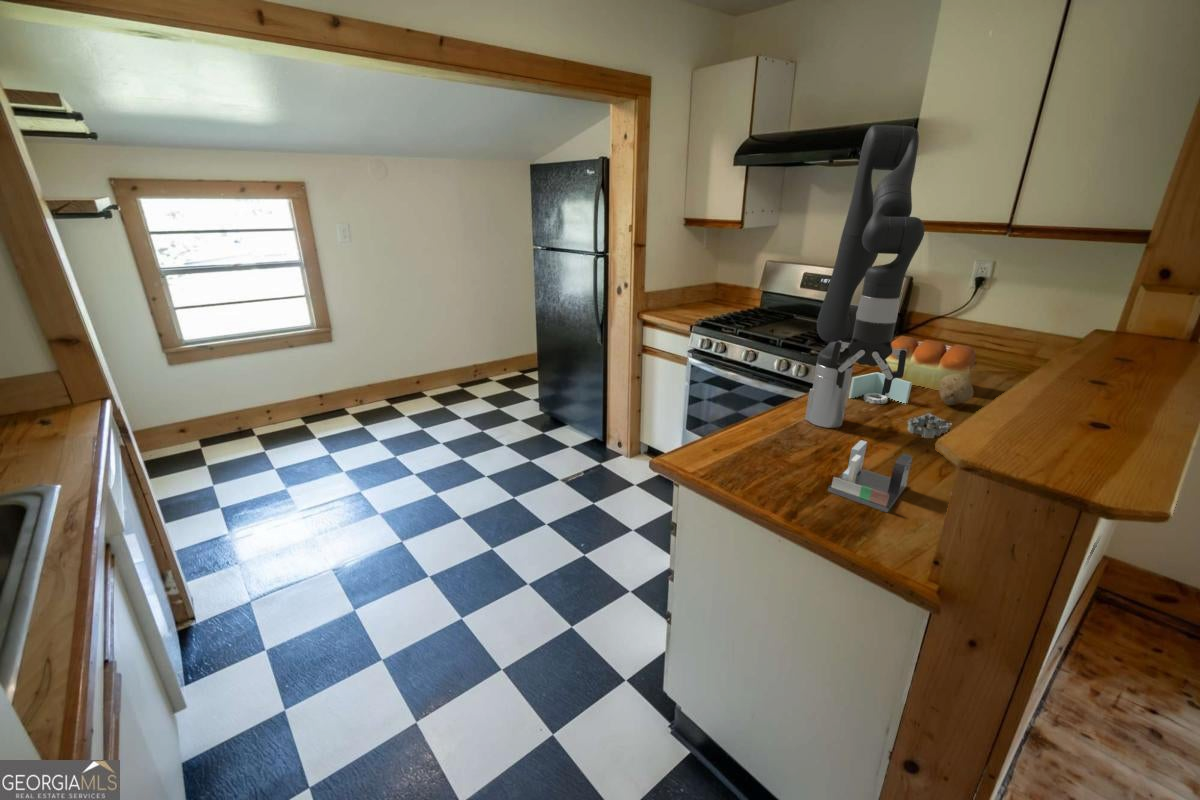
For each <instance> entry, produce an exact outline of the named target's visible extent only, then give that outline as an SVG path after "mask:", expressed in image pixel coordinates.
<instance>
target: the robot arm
mask: <svg viewBox="0 0 1200 800" xmlns="http://www.w3.org/2000/svg"><path fill="white" fill-rule="evenodd" d="M919 140H920V135H919V132H918V129H917V128H916V127H914V126H908V125H894V124H892V125H890V124H889V125H888V124H874V125H871V126H870V127H869V128H868V130H867V132H866V133H865V136H864V139H863V143H862V147H861V151H860V157H859V161H858V167H857V171H856V176H855V181H854V187H853V193H852V196H851V201H850V204H849V207H848V211H847V216H846V219H845V222H844V225H843V230H842V233H841V237H840V241H839V246H838V249H837V253H836V259H835V263H834V266H833V270H832V273H831V278H830V280H829V284H828V288H827V290H826V293H825V296H824V298H823V302H822V304H821V308H820V311H819V313H818V316H817V319H816V331H817V334H818V336H819V337H820V339H821V340H822V341H824V342H827V343H828V344H827V346H825V347H824V348H823V349H822V350H821V351H819V353H818V354H817V358H816V359H817V360H816V365H815V372H814V378H813V383H812V387H811V388H810V389H809V391H808V397H807V398H808V399H807V404H806V409H805V410H806V411H805V416H804V417H805V419H804V421H807V422H809V423H811V424H813V426H814V425H815V426H818V427H821V428H827V429H828V428H829V429H830V428H832V429H833V428H834V429H835V428H840V427H841V426H842V425H843V421H844V418H845V417H844V416H845V412H846V406H847V401H848V397H849V392H850V387H851V381H852V374H853V369H854V364H855V363H856V364H858V365H859V366H862V365H864V366H865V365H866V366H870V367H876V366H878V367H879V369H880V370H881V372H882V371H883V373H884V375H885V376H886V377H885V380H884V385H883V390H882V395H884V396H885V394H886V393H889V392H890V388H891V383H892V380H893V379H895V378H902V377H903V374H904V368H905V361H906V354H907V349H906V348H902V349H893V348H892V346H891V343H892V342H893V337H894V332H895V329H896V323H897V319H898V316H899V315H898V313H899V310H900V309H899V308H900V297H901V295H902V289H903V285H904V280H905V276H906V273H907V271H908V269H909V267H910V265H911V262H912V260H913V258H914V256H915V254H916V253H917V251H918V250H919V247H920V246H921V243H922V241H923V239H924V236H925V231H926V229H925V228H926V227H925V224H924V222H923V221H922V219H921V218H920V217H917V216H911V214H912V211H913V210H912V209H913V204H912V203H913V202H912V199H913V198H912V184H913V178H914V173H915V168H916V164H917V163H916V161H917V156H918V150H919V142H920V141H919ZM873 170H877V171H878V170H879V171H891V172H890V173H888V174H887V175H885V176H884V177H883V178H882V179H881V181H880V182H879V183H878V184H877V185H876V188H875V190H873V186H872V183H873V182H872V177H873ZM879 254H883V255H885V254H886V255H887V254H889V255H897V256H896V257H895V258H894V260H893V261H891V262H890V263H886V264H878V265H874V264H875V262H876V260H877V258H878V256H879ZM873 265H874V266H873ZM863 279H864V280H863ZM861 282H863V286H862V291H861V296H860V300H859V302H858V306H857V305H854V304H852V301H853V298H854V295H855V292H856V290H857V288H858V287H859V285H860V284H861ZM891 354H894V355H895V358H896V359H898V360H899V362H898V369H897V371H892V370H891V368H890V367H889V364H888V362H887V361H886V358H888V357H889V356H890V355H891Z"/></svg>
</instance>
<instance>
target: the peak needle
mask: <svg viewBox="0 0 1200 800" xmlns="http://www.w3.org/2000/svg"><path fill="white" fill-rule="evenodd" d="M860 460H861V456H860V455H857V454H856V455H855V456H854V457H853V458H852V459H851V461H850V470H849V475H848V480H847V481H849V482H852V483H855V480H856V476H857V471H858V466H859V461H860Z"/></svg>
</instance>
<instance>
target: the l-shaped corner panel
mask: <svg viewBox="0 0 1200 800" xmlns="http://www.w3.org/2000/svg"><path fill="white" fill-rule="evenodd" d="M885 377H886V376H885V375H884V374H882V372H877V371H876V372H871V373H867V374H862V375H857V376H851V380H850V386H849V391H848V396H847V399H848V398H849V399H850V398H852V399H855V397H856V398H859V396H860V397H863V400H864V401H865V402H866V403H869V404H877V405H878V404H879V405H884V404H886V403H888V402H889V401H888V400H891V399H893V400H892V401H894V400H895V401H894V402H897V401H899V402H898V403H900V402H902V403H901V404H903V403H905V404H904V405H907V404H908V402H909V399H910V394H911V389H912V387H913V386H912V383H911V382H908V381H905V380H901V379H898V378H895V379H893V380H892V383H891V388H890V392H889V393H886V394H885V396H884V395H882V390H883V385H884V380H885ZM862 395H864V396H862ZM888 398H890V399H888ZM906 403H907V404H906Z"/></svg>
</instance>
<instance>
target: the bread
mask: <svg viewBox="0 0 1200 800" xmlns="http://www.w3.org/2000/svg"><path fill="white" fill-rule="evenodd" d="M918 342H919V341H917V340H916V339H915V338H914V337H913V336H905V335H900V336H899V337H897V338H896V339H894V340H892V343H891V346H892V348H893V349H902V348H906V349H907V354H906V361H905V368H904V374H903V377H902V378H898V379H901V380H905V381H908V382H911V383H912V385H916V386H921V387H925V388H924V389H926V388H930V389H934V390H933V391H935V390H939V383H940V381H941V379H943V378H944V377H946V376H948V375H953V374H955V375H957V374H960V375H963V376H965V377H966V378H967V379H968V380H969V381H970V376H971V373H972V369H973V368H974V367H975V362H976V359H977V358H976V357H977V356H976V353H975V350H974V349H973V348H972V347H971V346H970V345H964V344H958V343H956V344H954V345H953V346H951V348H950V349H949V350H948V351H947V349H946V346H947V345H946V344H945V343H944V342H942V341H936V340H931V339H925V340H923V341H921V342H922V343H921V344H920V345H919V344H918ZM945 345H946V346H945ZM886 361H887V362H888V364H889V367H890V368H891V370H892V371H897V369H898V362H899V360H898V359H896V358H895V355H894V354H891V355H890V356H889V357H888V358H886ZM881 373H882V374H884V373H883V371H882V370H881ZM916 386H915V387H916ZM921 387H920V388H921ZM930 389H929V390H930Z"/></svg>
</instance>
